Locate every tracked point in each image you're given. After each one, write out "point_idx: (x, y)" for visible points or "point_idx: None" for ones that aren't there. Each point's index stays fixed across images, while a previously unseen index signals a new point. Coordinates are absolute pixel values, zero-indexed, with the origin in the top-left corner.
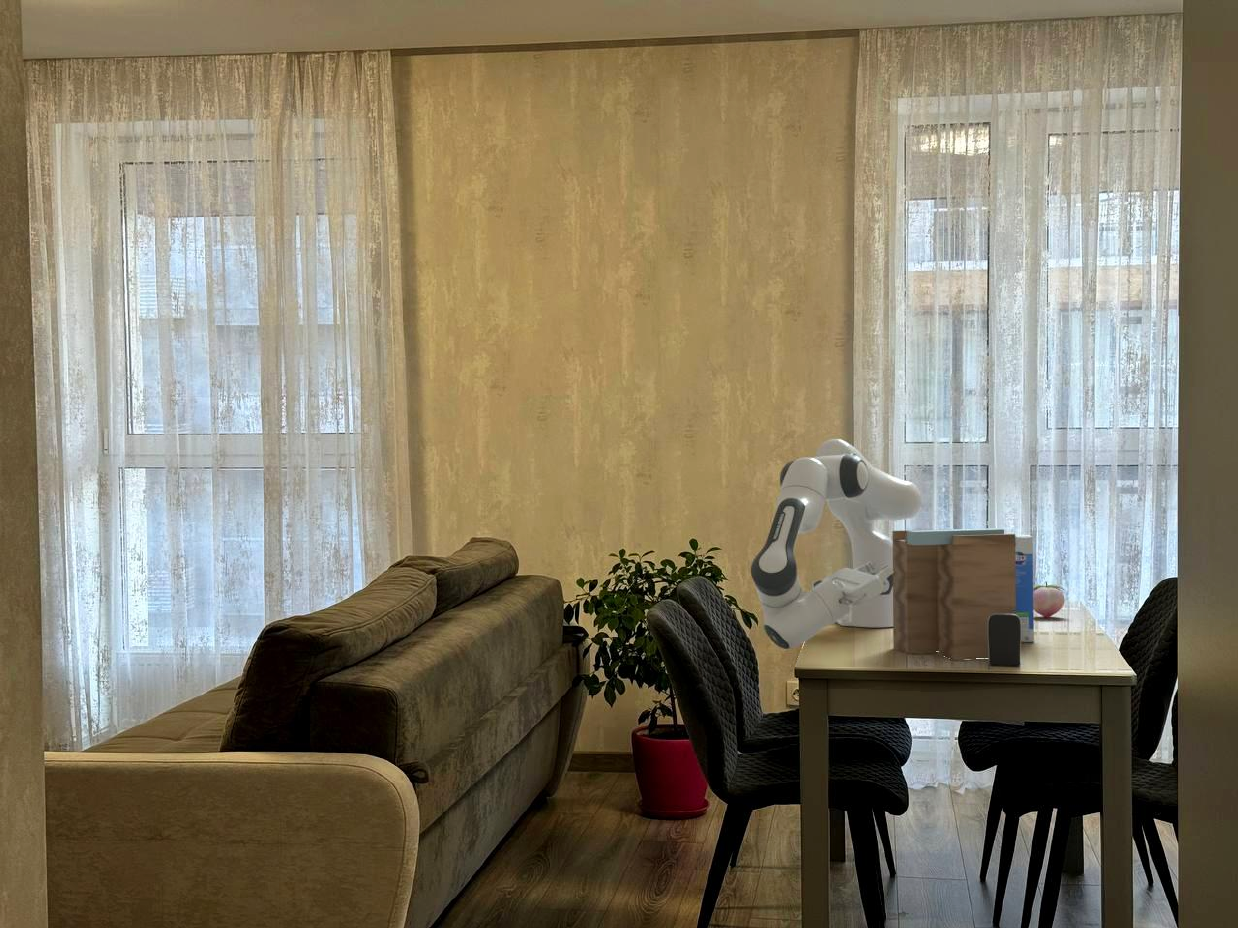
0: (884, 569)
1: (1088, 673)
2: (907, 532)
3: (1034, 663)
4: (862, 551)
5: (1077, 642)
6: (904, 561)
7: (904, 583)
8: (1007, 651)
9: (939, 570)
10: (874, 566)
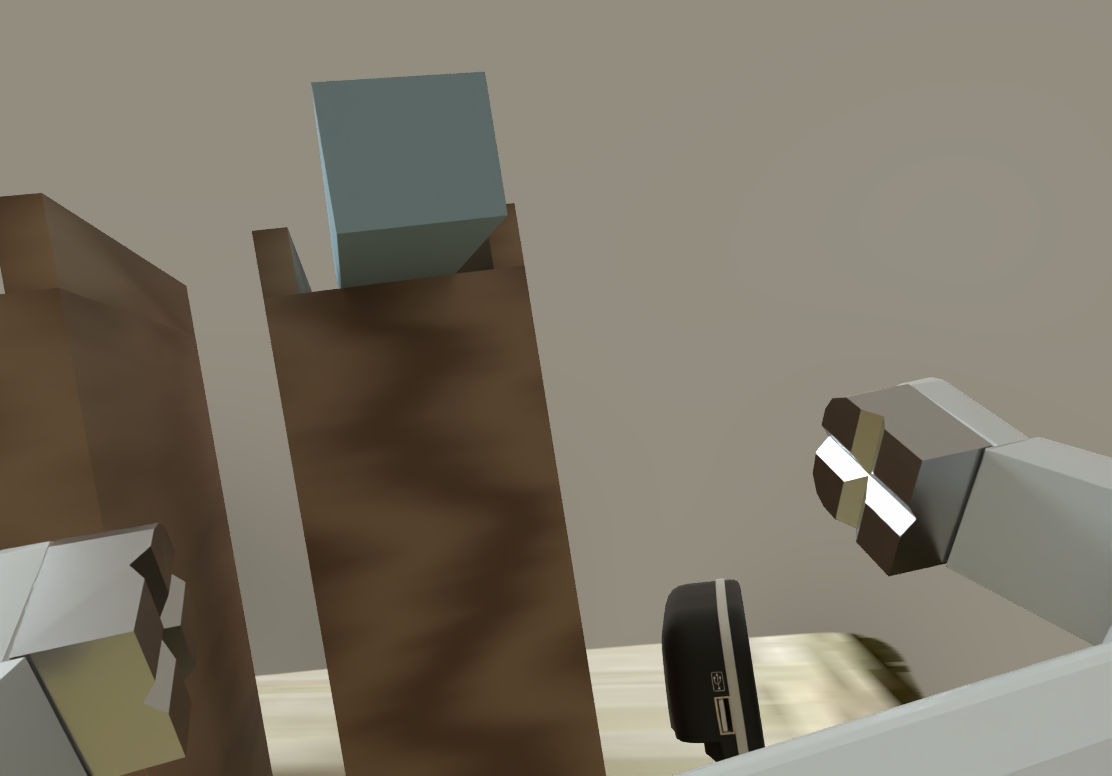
0: (1014, 432)
1: (837, 672)
2: (315, 102)
3: (671, 765)
4: None
5: (275, 702)
6: (23, 520)
7: None
8: None
9: (326, 506)
10: (183, 605)
